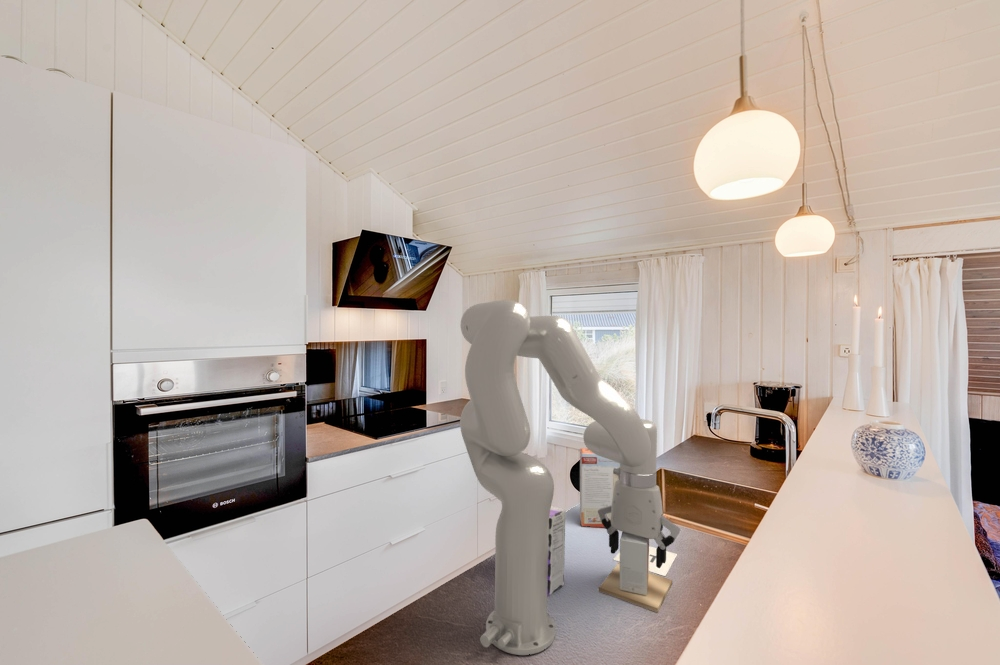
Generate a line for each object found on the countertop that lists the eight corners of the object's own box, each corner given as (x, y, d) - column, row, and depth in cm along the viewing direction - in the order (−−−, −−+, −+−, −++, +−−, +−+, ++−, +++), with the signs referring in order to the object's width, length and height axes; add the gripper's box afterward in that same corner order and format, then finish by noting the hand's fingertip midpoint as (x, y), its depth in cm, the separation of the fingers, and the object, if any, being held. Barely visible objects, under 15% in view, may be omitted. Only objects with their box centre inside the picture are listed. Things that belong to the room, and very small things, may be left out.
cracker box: (627, 520, 125) (628, 448, 126) (631, 530, 119) (632, 454, 120) (578, 518, 127) (579, 447, 127) (580, 527, 121) (581, 452, 121)
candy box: (499, 571, 98) (500, 498, 98) (516, 561, 102) (517, 491, 102) (549, 597, 88) (550, 516, 88) (565, 585, 93) (566, 508, 93)
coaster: (657, 612, 84) (657, 608, 84) (598, 591, 91) (599, 587, 91) (672, 583, 94) (672, 580, 94) (618, 566, 100) (618, 562, 100)
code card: (665, 576, 96) (665, 576, 96) (613, 560, 103) (613, 559, 103) (677, 554, 106) (677, 553, 106) (629, 540, 113) (629, 540, 113)
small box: (647, 596, 87) (647, 545, 87) (618, 590, 89) (619, 539, 90) (649, 576, 95) (649, 528, 95) (622, 571, 97) (623, 524, 97)
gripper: (592, 474, 94) (591, 553, 94) (676, 491, 84) (675, 579, 84) (605, 466, 100) (604, 539, 100) (684, 481, 90) (683, 563, 90)
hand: (636, 557), depth 92 cm, fingers open, 9 cm apart
